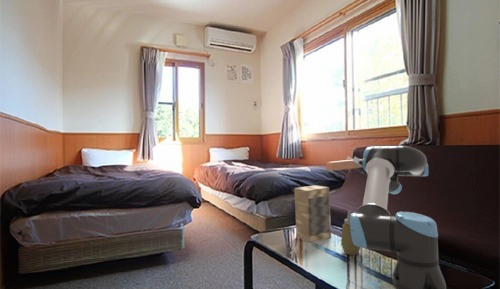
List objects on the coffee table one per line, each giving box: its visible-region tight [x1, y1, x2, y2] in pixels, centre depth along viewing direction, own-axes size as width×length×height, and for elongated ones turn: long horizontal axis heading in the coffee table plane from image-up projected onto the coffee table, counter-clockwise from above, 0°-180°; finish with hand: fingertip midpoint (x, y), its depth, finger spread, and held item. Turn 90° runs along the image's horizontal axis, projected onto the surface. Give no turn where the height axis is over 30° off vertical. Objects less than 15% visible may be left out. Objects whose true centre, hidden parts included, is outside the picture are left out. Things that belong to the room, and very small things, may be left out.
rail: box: [325, 158, 363, 172], centre depth 146 cm, size 22×4×4 cm, turn 116°
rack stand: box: [293, 184, 332, 244], centre depth 146 cm, size 14×10×25 cm
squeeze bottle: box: [340, 210, 361, 256], centre depth 125 cm, size 8×8×18 cm
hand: (350, 158), depth 148 cm, fingers closed on rail, 4 cm apart
